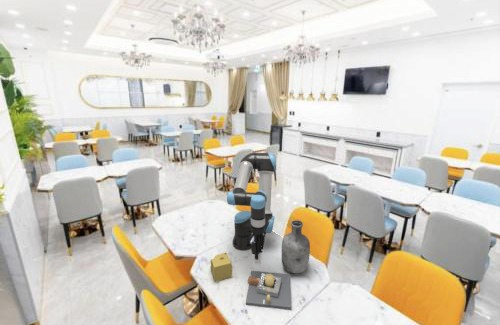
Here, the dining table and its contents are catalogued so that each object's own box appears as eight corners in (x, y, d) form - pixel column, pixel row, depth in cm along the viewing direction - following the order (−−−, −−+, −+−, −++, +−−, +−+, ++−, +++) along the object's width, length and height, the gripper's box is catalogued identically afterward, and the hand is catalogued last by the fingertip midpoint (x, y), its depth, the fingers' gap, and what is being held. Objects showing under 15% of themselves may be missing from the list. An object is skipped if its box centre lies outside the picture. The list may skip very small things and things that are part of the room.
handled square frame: (281, 281, 126) (281, 277, 125) (277, 297, 116) (277, 293, 115) (251, 274, 131) (251, 271, 130) (245, 289, 121) (245, 285, 120)
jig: (251, 272, 135) (251, 261, 133) (289, 276, 132) (290, 264, 130) (245, 304, 114) (245, 291, 112) (291, 309, 111) (291, 296, 109)
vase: (275, 267, 139) (276, 222, 131) (292, 255, 149) (294, 213, 141) (296, 282, 128) (299, 234, 120) (313, 269, 137) (317, 223, 130)
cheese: (210, 270, 137) (209, 255, 135) (228, 265, 141) (227, 251, 138) (214, 283, 128) (213, 267, 125) (233, 277, 132) (232, 262, 129)
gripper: (259, 217, 130) (258, 254, 136) (244, 227, 120) (245, 266, 126) (270, 221, 125) (269, 259, 131) (256, 232, 115) (256, 272, 121)
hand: (257, 262), depth 128 cm, fingers closed
